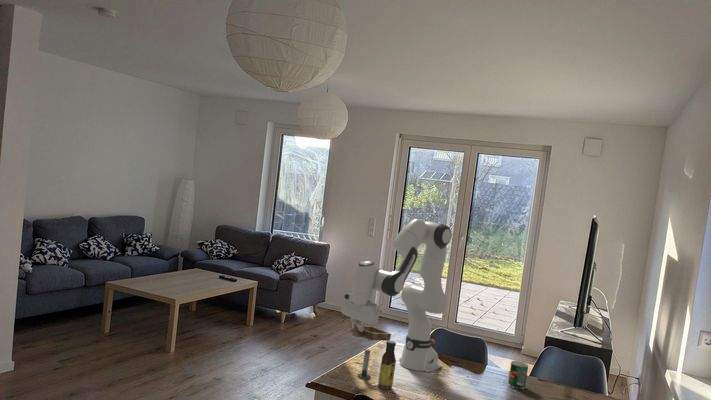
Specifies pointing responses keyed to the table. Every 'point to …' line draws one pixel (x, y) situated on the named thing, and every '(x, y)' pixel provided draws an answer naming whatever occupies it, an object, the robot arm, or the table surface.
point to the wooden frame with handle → (371, 333)
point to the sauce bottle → (387, 367)
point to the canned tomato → (518, 374)
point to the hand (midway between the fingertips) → (357, 329)
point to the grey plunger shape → (365, 366)
